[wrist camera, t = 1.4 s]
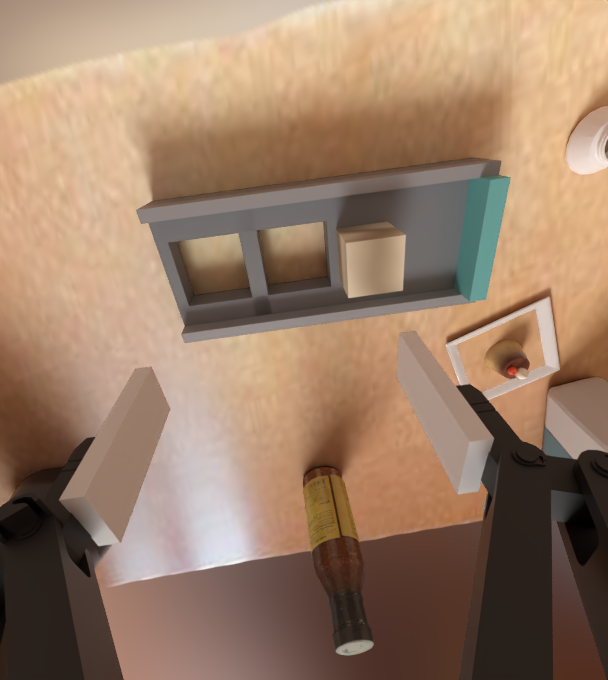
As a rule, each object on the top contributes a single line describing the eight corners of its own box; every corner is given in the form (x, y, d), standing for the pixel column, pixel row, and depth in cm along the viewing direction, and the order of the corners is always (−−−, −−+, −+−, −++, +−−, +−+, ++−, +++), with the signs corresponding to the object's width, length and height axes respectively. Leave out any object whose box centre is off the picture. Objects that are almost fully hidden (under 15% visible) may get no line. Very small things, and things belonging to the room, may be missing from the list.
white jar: (590, 181, 31) (634, 121, 28) (618, 185, 28) (669, 120, 26) (550, 160, 29) (592, 95, 27) (576, 162, 27) (625, 91, 25)
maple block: (338, 278, 31) (348, 298, 27) (335, 228, 28) (346, 243, 24) (386, 271, 31) (403, 290, 27) (387, 221, 28) (405, 235, 25)
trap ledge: (193, 322, 35) (180, 351, 30) (152, 201, 28) (128, 214, 24) (455, 286, 35) (483, 309, 30) (473, 157, 29) (513, 162, 24)
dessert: (440, 339, 39) (460, 363, 35) (543, 291, 37) (576, 310, 33) (464, 402, 45) (483, 429, 41) (554, 364, 43) (583, 388, 39)
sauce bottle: (298, 488, 51) (311, 661, 34) (307, 462, 48) (327, 638, 31) (338, 491, 52) (370, 659, 36) (349, 465, 49) (390, 637, 32)
